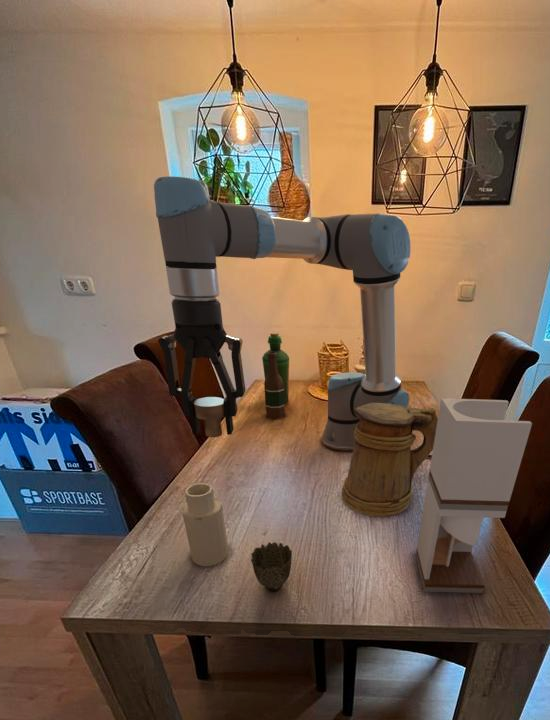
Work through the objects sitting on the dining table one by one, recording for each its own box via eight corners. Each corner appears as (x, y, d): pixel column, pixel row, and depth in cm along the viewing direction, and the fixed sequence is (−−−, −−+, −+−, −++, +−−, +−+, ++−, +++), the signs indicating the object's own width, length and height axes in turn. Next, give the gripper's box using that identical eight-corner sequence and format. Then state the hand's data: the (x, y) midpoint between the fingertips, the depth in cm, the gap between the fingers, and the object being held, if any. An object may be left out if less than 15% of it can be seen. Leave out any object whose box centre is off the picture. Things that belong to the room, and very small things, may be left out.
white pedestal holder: (424, 591, 76) (456, 420, 59) (415, 555, 85) (441, 398, 68) (482, 592, 77) (532, 423, 59) (468, 556, 86) (507, 400, 68)
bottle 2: (295, 400, 170) (292, 332, 156) (283, 408, 162) (280, 336, 147) (273, 397, 173) (268, 330, 159) (260, 404, 164) (255, 334, 150)
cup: (256, 573, 79) (253, 541, 75) (293, 572, 80) (292, 540, 76) (252, 601, 73) (248, 569, 68) (292, 600, 73) (291, 567, 69)
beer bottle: (281, 420, 151) (278, 355, 138) (262, 417, 152) (257, 353, 140) (288, 413, 157) (285, 351, 145) (269, 411, 158) (265, 349, 146)
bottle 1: (231, 542, 87) (221, 479, 79) (225, 565, 81) (214, 499, 72) (196, 543, 86) (184, 480, 78) (188, 566, 80) (173, 500, 72)
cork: (231, 429, 78) (228, 397, 75) (226, 440, 74) (222, 406, 70) (202, 428, 78) (197, 396, 75) (195, 440, 73) (190, 406, 70)
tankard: (337, 482, 111) (339, 396, 99) (417, 479, 114) (430, 395, 102) (346, 519, 96) (350, 423, 83) (438, 515, 99) (456, 421, 86)
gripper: (256, 298, 68) (264, 424, 79) (144, 293, 66) (169, 424, 78) (251, 302, 61) (260, 439, 73) (126, 297, 60) (156, 439, 71)
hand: (213, 431), depth 75 cm, fingers closed on cork, 6 cm apart
